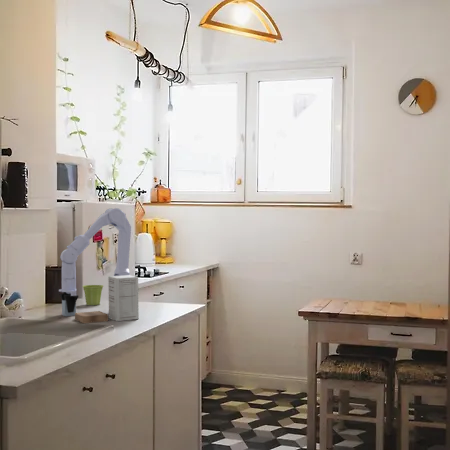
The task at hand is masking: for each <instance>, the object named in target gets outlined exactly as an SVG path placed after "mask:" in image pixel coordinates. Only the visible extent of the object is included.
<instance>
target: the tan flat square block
mask: <svg viewBox="0 0 450 450" xmlns="http://www.w3.org/2000/svg"><path fill="white" fill-rule="evenodd" d="M74 320H75V321H77V322H79V323H81V324H89V323H101V322H108V321H109V313H106V312H104V311H100V310H98V311H97V310H94V311H83V312H76V313H75V315H74Z"/></svg>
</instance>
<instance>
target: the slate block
mask: <svg viewBox="0 0 450 450" xmlns="http://www.w3.org/2000/svg"><path fill="white" fill-rule="evenodd" d="M75 313H77V302H76V303H75V308H74V312H70V313H68V310H67V304H66V300H62V299H61V315H62V316H63V317H73V316H74V317H75Z"/></svg>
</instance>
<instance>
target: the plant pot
mask: <svg viewBox="0 0 450 450" xmlns="http://www.w3.org/2000/svg"><path fill="white" fill-rule="evenodd" d="M103 287H104V285H101V284H87V285H86V284H85V285H82V288H83V291H84V298H85V303H86V304H85V305H86V306H100V305H101V297H102V291H103Z"/></svg>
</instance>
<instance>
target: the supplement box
mask: <svg viewBox="0 0 450 450" xmlns="http://www.w3.org/2000/svg"><path fill="white" fill-rule="evenodd" d="M107 281H108V283H107V284H108V285H107V287H108V319H111V320H113V321H115V322H122V321H133V320H139V315H140V314H139V313H140V312H139V277H138V276H136V275H132V274H130V275H123V276H114V275H110V276H108V278H107Z"/></svg>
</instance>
